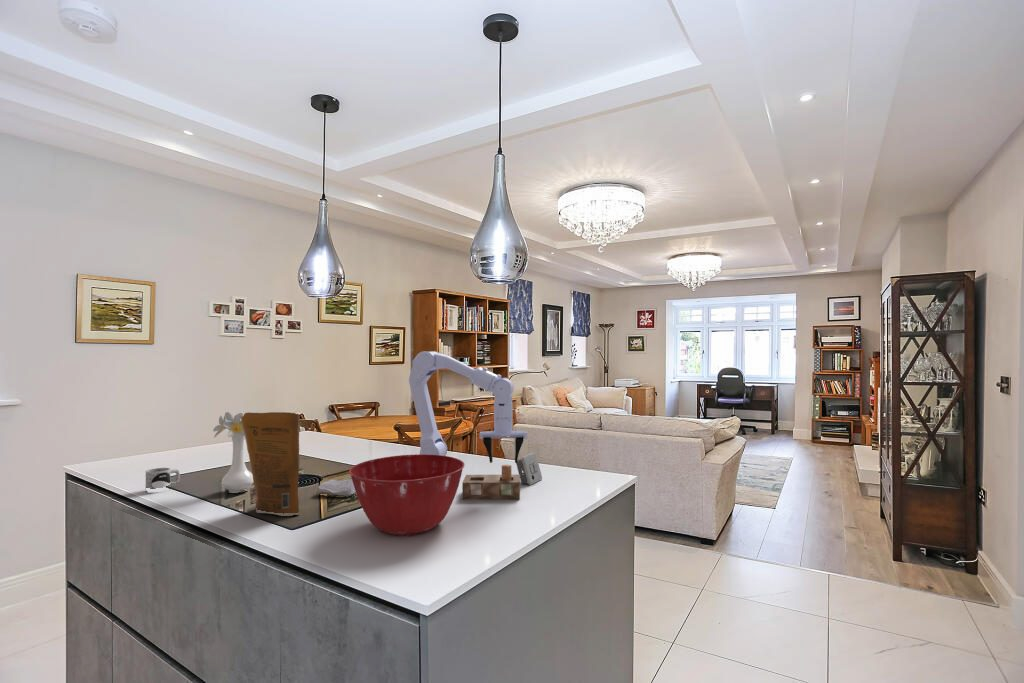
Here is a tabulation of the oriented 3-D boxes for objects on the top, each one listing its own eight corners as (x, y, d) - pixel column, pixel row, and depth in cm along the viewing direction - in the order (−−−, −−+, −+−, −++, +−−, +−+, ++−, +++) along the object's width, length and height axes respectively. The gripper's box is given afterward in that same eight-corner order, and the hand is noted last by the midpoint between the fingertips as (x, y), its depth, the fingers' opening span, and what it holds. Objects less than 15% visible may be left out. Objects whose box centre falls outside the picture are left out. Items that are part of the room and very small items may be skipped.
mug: (152, 494, 167) (152, 473, 167) (141, 491, 171) (141, 470, 171) (185, 487, 176) (185, 467, 176) (174, 484, 179) (174, 465, 179)
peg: (501, 493, 161) (501, 466, 161) (502, 490, 164) (502, 464, 164) (511, 493, 160) (511, 466, 161) (512, 490, 163) (511, 464, 164)
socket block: (462, 499, 158) (462, 482, 158) (466, 490, 168) (466, 474, 168) (519, 499, 157) (519, 482, 157) (520, 490, 168) (519, 474, 168)
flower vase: (246, 499, 160) (246, 416, 161) (201, 494, 167) (201, 414, 167) (278, 488, 173) (278, 411, 173) (235, 484, 179) (235, 409, 179)
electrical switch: (530, 486, 173) (527, 457, 174) (516, 485, 176) (514, 457, 176) (542, 479, 182) (540, 452, 182) (529, 479, 184) (526, 452, 185)
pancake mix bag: (290, 521, 139) (290, 414, 140) (238, 512, 147) (238, 411, 147) (309, 513, 146) (309, 411, 146) (259, 506, 153) (258, 408, 154)
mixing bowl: (416, 556, 115) (415, 484, 115) (323, 534, 129) (323, 470, 129) (485, 519, 140) (485, 459, 140) (401, 504, 153) (401, 450, 154)
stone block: (352, 504, 161) (363, 489, 171) (350, 489, 160) (361, 475, 170) (314, 505, 162) (327, 490, 172) (312, 490, 161) (325, 476, 171)
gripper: (478, 419, 160) (478, 464, 160) (526, 419, 160) (527, 464, 159) (480, 416, 167) (480, 459, 167) (526, 416, 167) (527, 459, 166)
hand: (503, 462), depth 164 cm, fingers open, 7 cm apart
